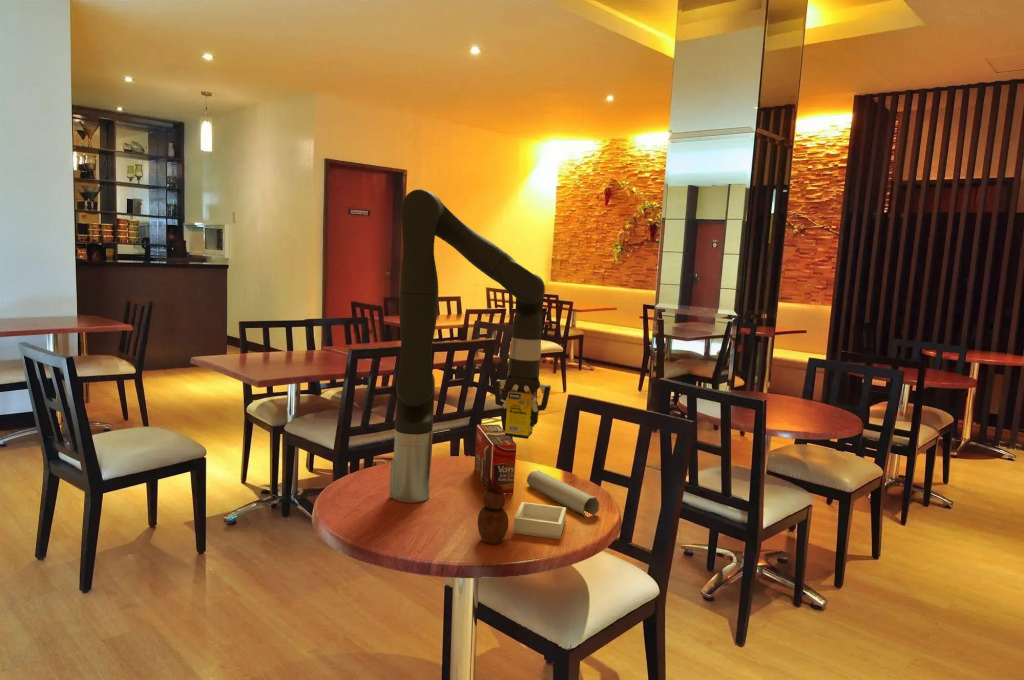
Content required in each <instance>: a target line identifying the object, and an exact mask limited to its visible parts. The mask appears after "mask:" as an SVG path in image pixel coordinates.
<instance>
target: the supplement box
mask: <svg viewBox="0 0 1024 680" xmlns="http://www.w3.org/2000/svg"><path fill="white" fill-rule="evenodd" d="M536 392H537V391H536ZM536 392H535V393H534V394H529V393H525V392H510V391H508V393H507V397H508V401H507V414H506V423H505V427H504V428H505V429H504V431H505V436H509V437H510V438H519V439H525V440H526V439H527V440H528V439H529V438H530V437H531V435H532V434H533V429H534V427H531V417H532V411H533V409H532V399H533V398H534V397H535V396H536Z"/></svg>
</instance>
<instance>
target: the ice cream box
mask: <svg viewBox="0 0 1024 680" xmlns="http://www.w3.org/2000/svg"><path fill="white" fill-rule="evenodd" d="M475 434H476V436H475V449H474V450H475V452H474V469H473V470H474V472H475V474H476V475H477V477H478V476H479V477H478V478H479V480H480V479H481V480H480V481H482V482H481V483H482V485H483V484H484V485H483V487H484V488H485V487H486V488H485V490H486V489H487V478H488V472H490V477H491V482H492V481H493V477H494V476H495V479H496V483H497V482H498V481H499V487H500V486H502V492H503V493H513V494H514V490H515V488H514V487H515V475H516V474H515V473H516V459H517V458H516V456H517V442H515V441H514V440H513V439H512V437H509V436H505V429H503V427H502V426H501V425H500V424H476V433H475Z"/></svg>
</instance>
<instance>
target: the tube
mask: <svg viewBox="0 0 1024 680" xmlns="http://www.w3.org/2000/svg"><path fill="white" fill-rule="evenodd" d="M526 483H527V484H528V486H529V488H530V487H531V489H532V488H533V490H534V489H535V490H534V491H536V490H537V491H536V492H538V491H539V492H538V493H540V494H542V495H544V496H545V495H546V497H547V496H548V498H549V499H551V500H554V501H555V502H557V503H558V504H561V505H563V507H564V506H565V507H566V508H568V509H570V510H572V511H574V512H576V513H577V512H578V514H579V513H580V515H581V514H582V516H583V515H584V516H583V517H584V518H586V517H587V516H586V515H585V513H584V511H586V512H588V513H590V514H592V515H594V516H595V515H596V514H598V512H599V511H600V510H599V509H600V501H599V499H598V498H597V497H596V496H595V495H593V496H592V495H591V494H588V493H587V492H584V491H583V490H580V489H578V488H576V487H574V486H572V485H570V484H568V483H566V482H563V481H562V480H560V479H558V478H556V477H553V476H552V475H549V474H547V473H545V472H542V471H541V470H536V471H530V473H529V474H528V475H527V477H526ZM587 518H588V517H587Z"/></svg>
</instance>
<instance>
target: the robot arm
mask: <svg viewBox="0 0 1024 680" xmlns="http://www.w3.org/2000/svg"><path fill="white" fill-rule="evenodd" d="M400 218H401V229H402V231H401V233H402V259H401V269H400V270H401V271H400V281H399V282H400V283H399V298H398V299H399V300H398V301H399V302H398V303H399V304H398V305H399V309H398V310H399V313H398V317H399V319H398V320H399V321H398V322H399V334H400V337H399V338H400V358H399V365H398V366H399V367H398V373H397V377H396V378H397V379H396V382H395V389H396V390H395V391H396V408H395V409H396V410H395V418H394V419H395V420H394V439H393V440H394V443H393V445H394V446H393V459H391V460H390V469H389V470H390V471H389V476H390V478H389V495H388V497H389V498H390V499H393V500H395V501H398V502H401V503H420V502H425V501H426V500H428V499H429V498H430V491H431V487H430V485H431V467H432V451H433V449H432V448H433V447H432V445H433V426H434V412H435V411H434V410H435V409H434V406H435V392H436V391H435V389H436V388H435V386H436V383H435V381H436V380H435V376H434V373H433V361H432V359H433V357H432V355H433V353H432V352H433V351H432V350H433V341H434V338H435V337H434V336H435V332H436V327H437V320H438V319H437V318H438V311H439V310H438V309H439V279H438V272H437V271H438V270H437V265H436V260H435V259H436V257H435V238H436V237H437V238H439V239H441V240H442V241H444V242H445V243H446V244H448V245H449V246H451V247H452V248H454V250H456V251H457V252H458V253H459V254H460V255H461V256H462V257H464V259H466V260H467V261H468V262H469V263H471V264H472V266H473V267H475V268H477V270H479V271H480V272H482V273H483V274H485V275H486V276H487V277H489V278H490V279H492V280H493V281H494V282H497V284H499V285H500V286H501V287H503V288H504V289H505V290H506V291H507V292H509V293H510V294H511V295H512V296H513V297H515V308H514V309H515V310H514V311H515V313H514V316H513V320H512V327H511V328H512V329H511V340H510V345H509V354H508V355H509V356H508V370H507V377H506V379H496V380H495V381H494V382H493V383H494V384H493V385H494V387H493V388H494V400H495V401H494V402H495V405H496V406H500V407H501V408H502V413H501V415H502V416H501V419H502V421H503V423H504V424H506V414H507V401H508V396H507V397H506V398H505V400H503V392H502V390H503V389H504V387H505V386H506V388H507V390H509V391H508V392H525V393H529V394H534V393H535V392H537V391H538V390H539V389H540V393H541V394H542V399H541V403H540V404H539V403H538V399H537V396H536V395H535V397H534V398H533V399H532V409H533V411H532V417H531V427H533V428H534V427H535V426H536V425H538V422H539V412H540V411H545V410H546V409H547V406H548V403H549V399H550V394H551V391H552V390H551V388H552V387H551V385H550V384H543V383H541V382H540V367H541V366H540V365H541V364H540V363H541V356H542V344H541V340H542V329H543V328H542V326H543V324H542V323H543V320H542V319H543V318H542V316H543V307H544V300H545V291H546V284H545V282H544V280H543V279H542V278H541V276H539V275H537V274H535V273H532V272H531V271H529V270H528V269H526V268H525V267H524V266H522V265H521V264H519V263H518V262H516V260H515V259H514V258H513V257H512V256H511V255H510V254H508V253H507V252H505V251H504V250H503V249H501V248H500V247H499V246H498V245H496V244H495V243H493V242H492V241H491V240H489V239H488V238H486V237H485V236H483V235H481V234H479V233H478V232H476V231H475V230H474V229H472V228H471V227H470V226H468V225H467V224H466V223H464V221H462V220H460V218H458V216H456V215H455V214H454V213H453V212H452V211H451V210H450V209H449V208H448V207H447V206H446V205H445V204H444V203H443V202H442V200H441V199H440V197H438V196H437V195H436V194H435V193H433V192H431V191H428V190H425V189H423V188H421V189H419V188H418V189H414V190H412V191H410V192H408V193H407V195H405V197H404V198H403V200H402V203H401V204H400ZM535 394H536V393H535Z"/></svg>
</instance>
